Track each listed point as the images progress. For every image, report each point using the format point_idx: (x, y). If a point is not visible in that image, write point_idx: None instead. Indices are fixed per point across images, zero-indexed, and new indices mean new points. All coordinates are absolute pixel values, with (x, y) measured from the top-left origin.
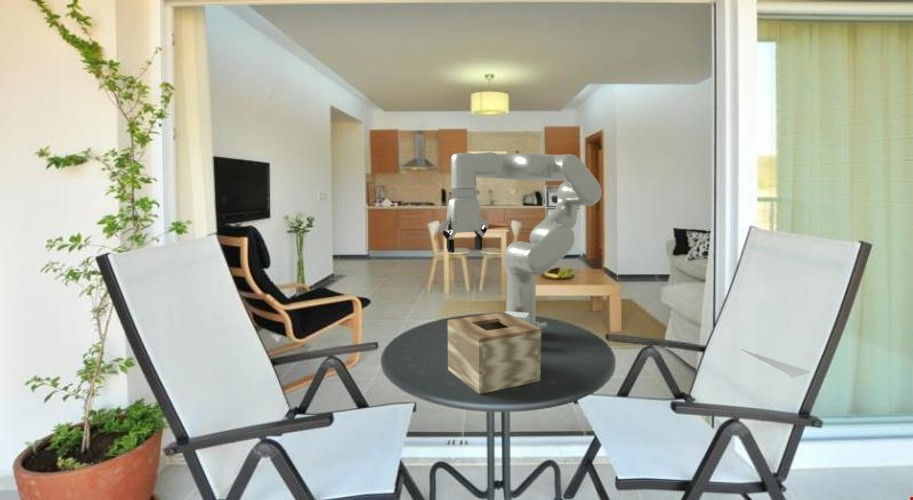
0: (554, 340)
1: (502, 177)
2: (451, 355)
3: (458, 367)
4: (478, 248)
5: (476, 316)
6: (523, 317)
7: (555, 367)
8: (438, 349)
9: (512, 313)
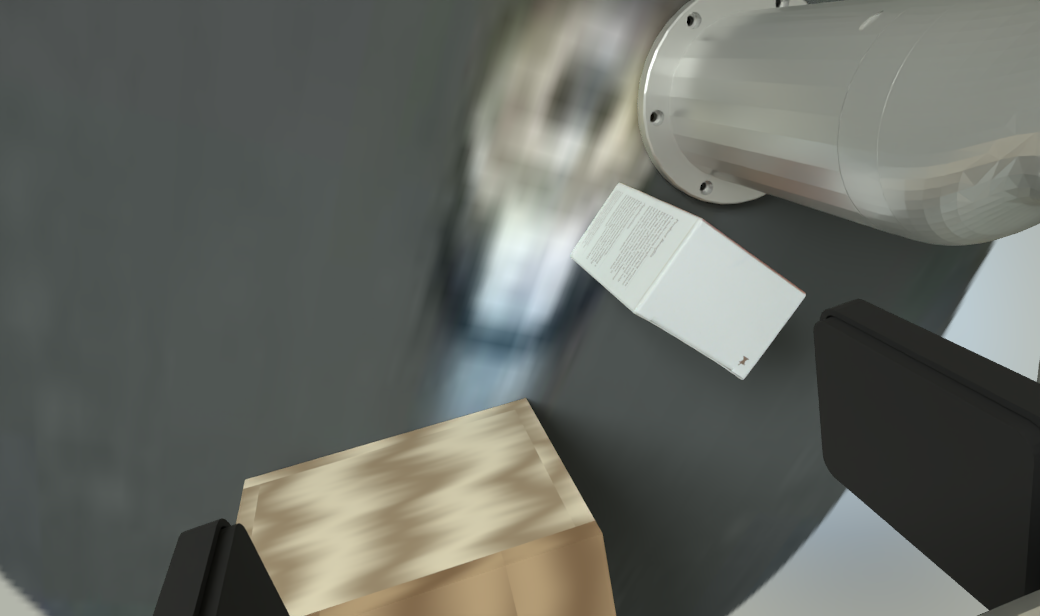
0: None
1: None
2: None
3: None
4: (832, 445)
5: (410, 604)
6: (731, 371)
7: (672, 501)
8: (227, 203)
9: (711, 291)
